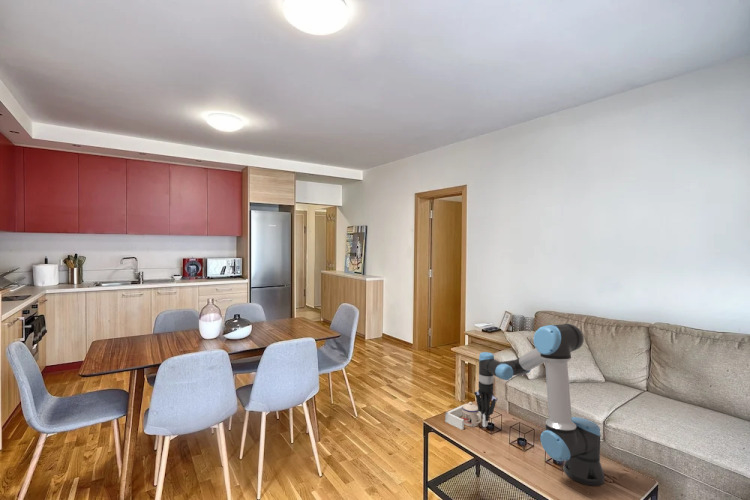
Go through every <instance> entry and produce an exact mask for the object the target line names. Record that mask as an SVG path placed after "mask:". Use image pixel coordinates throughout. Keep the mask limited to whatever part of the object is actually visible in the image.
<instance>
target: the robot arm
mask: <svg viewBox="0 0 750 500" xmlns="http://www.w3.org/2000/svg"><path fill="white" fill-rule="evenodd" d="M584 338H585V336H584V334H583V331H581V329H580V328H578V326H576V325H574V324H571V323H561V324H548V325H544V326H541V327H539V328H538V329H537V330H536V331H535V332H534V335H533V345H534V348H533V349H532V350H530V351H528V352H526V353H525V354H522V355H521V356H520V357H518V358H516V359H511V360H506V361H504V360H503V361H498V360H496V359H495V354H494V353H491V352H489V351H488V352H487V351H483V352H480V353H479V356H478V357H479V358H478V359H479V360H478V390H477V391H474V396H475V400H476V406H478V411H480V412H481V413H482V415H481V418H482V427H483V428H486V427H488V425H489V422H488V421H490V416H492V415H493V414H494V410H495V406H496V402H497V401H498V397H495V396H494V376H495V377H497V378H498V379H501V380H504V381H509V380H511V379H512V378H513V377H514V376H521V375H526V374H529V373H530V372H531V370H533V369H535V368H536V367H539V366H540V365H542V364H544V366H545V367H544V368H545V381H546V393H547V394H546V395H547V408H548V409H547V410H548V418H547V419H546V421H545V430H543V431H542V432H541V433H540V436H539V437H540V443H541V446H542V448H543V450H544V451H545V453H546V454H547V455H548V456H549V457H550V458H551V459H553V460H554V461H557V462H564V463H563V472H564V473H565V475H566V476H567V477H568V478H570V479H571V480H573V481H575V482H577V483H579V484H583V485H585V486H591V487H596V486H601V485H603V484H604V483H605V473H604V469H603V466H602V464H601V436H602V434H601V428H600V426H599V424H597V423H595V422H594V421H592V420H589V419H586V418H583V417H579V416H572V405H571V403H572V402H571V393H570V390H571V389H570V381H569V380H570V378H569V377H570V376H569V367H568V366H569V365H568V362H569V361H570V360H571V359H572V352H574V351H576V350H579V349H580V348H581V347H582V346H583V344H584V342H585V339H584Z"/></svg>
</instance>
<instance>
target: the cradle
mask: <svg viewBox="0 0 750 500" xmlns="http://www.w3.org/2000/svg"><path fill="white" fill-rule="evenodd" d="M463 405H464V404H462V405H460V406H458V407H455V408H453V409H451V410H448V411H446V412H444V422H445V423H447V424H449V425H451V426H453V427H456V428H457V429H459V430H462V431H463V430H465V425H464V420H463V419H462V418H461V417H462V406H463ZM478 414H480V415H482V413H481V412H480V411H478ZM479 420H480V418H479V416H478V421H479Z"/></svg>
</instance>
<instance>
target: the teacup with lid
mask: <svg viewBox="0 0 750 500" xmlns="http://www.w3.org/2000/svg"><path fill="white" fill-rule="evenodd" d="M462 405H463V406H462ZM462 405H461V406H462V416H461V417H462V418H461V419H463V420H464V426H467V427H470V428H475V427H478V425H479V424H481V423H482V422H483V419H482V418H481V415H480V414H478V406H477V404H474V403H473V402H472V401H469V402H468V403H464V404H462ZM478 416H479V418H480V420H479V419H478Z"/></svg>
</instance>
